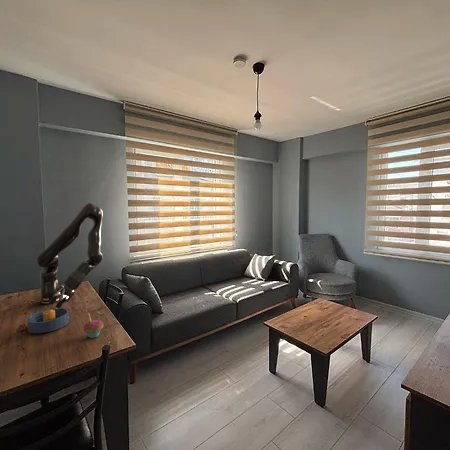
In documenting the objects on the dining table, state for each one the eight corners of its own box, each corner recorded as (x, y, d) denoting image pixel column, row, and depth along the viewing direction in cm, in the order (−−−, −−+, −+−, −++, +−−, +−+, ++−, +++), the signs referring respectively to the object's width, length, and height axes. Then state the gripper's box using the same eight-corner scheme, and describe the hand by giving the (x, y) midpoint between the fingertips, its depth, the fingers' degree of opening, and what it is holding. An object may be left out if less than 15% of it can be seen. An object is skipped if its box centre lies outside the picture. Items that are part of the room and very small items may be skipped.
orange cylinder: (46, 323, 132) (45, 308, 131) (57, 321, 133) (56, 307, 132) (41, 327, 127) (40, 312, 126) (53, 326, 128) (52, 311, 127)
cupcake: (83, 341, 114) (82, 316, 114) (84, 333, 122) (83, 310, 121) (104, 337, 118) (102, 313, 117) (103, 329, 126) (102, 306, 125)
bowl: (37, 320, 136) (36, 309, 135) (73, 316, 141) (73, 306, 140) (20, 336, 119) (20, 324, 118) (62, 331, 124) (61, 320, 123)
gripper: (86, 285, 138) (65, 312, 129) (75, 280, 146) (53, 305, 137) (76, 278, 133) (52, 305, 124) (64, 273, 141) (42, 299, 133)
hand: (53, 305), depth 131 cm, fingers open, 8 cm apart
